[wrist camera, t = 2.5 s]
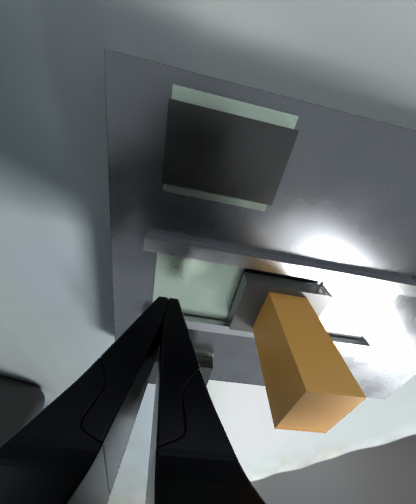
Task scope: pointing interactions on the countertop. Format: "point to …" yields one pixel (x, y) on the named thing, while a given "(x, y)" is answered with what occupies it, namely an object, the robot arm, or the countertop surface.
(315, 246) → the breaker panel
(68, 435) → the robot arm
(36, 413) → the dark rounded block
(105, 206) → the countertop surface
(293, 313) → the block
